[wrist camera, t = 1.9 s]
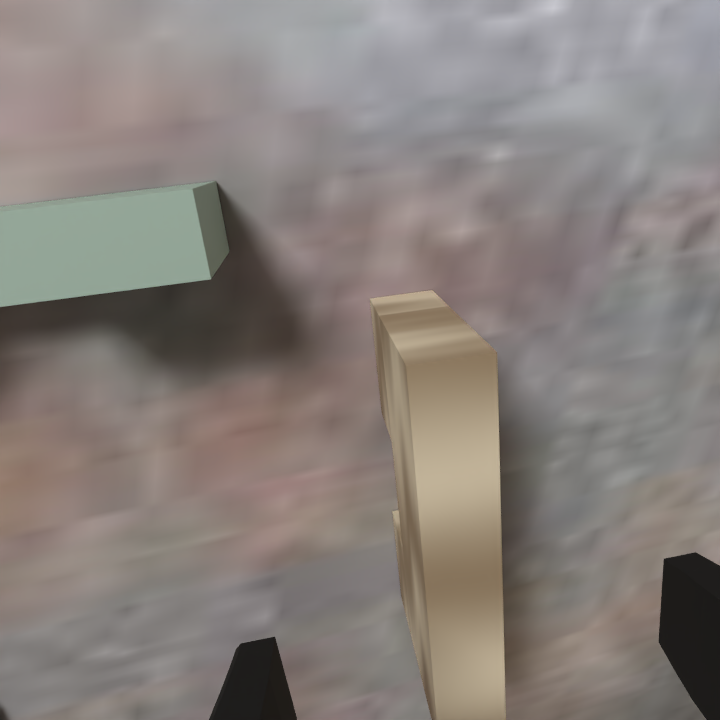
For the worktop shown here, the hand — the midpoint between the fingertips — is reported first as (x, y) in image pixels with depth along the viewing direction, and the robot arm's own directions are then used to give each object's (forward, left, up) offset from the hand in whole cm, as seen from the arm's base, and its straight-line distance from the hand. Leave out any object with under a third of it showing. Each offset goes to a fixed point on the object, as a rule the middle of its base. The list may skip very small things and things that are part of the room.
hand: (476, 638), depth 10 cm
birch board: (-2, -1, -9) cm, 10 cm away
